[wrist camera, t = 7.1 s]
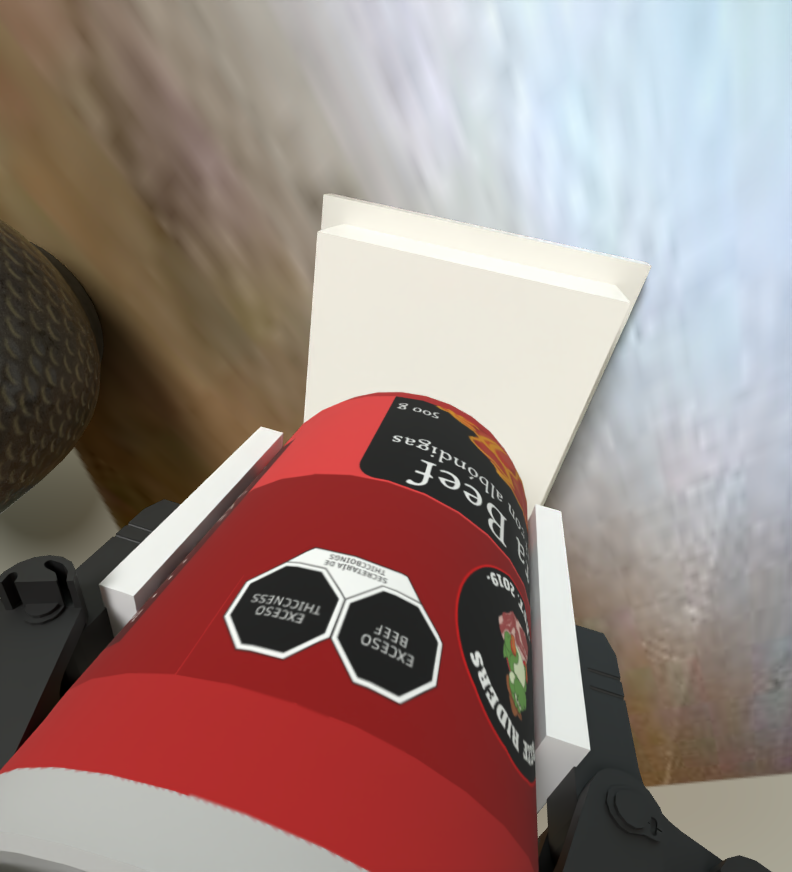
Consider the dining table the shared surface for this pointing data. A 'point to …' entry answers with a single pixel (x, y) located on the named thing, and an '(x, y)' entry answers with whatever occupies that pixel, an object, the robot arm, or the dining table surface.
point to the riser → (466, 324)
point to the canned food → (312, 675)
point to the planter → (42, 363)
